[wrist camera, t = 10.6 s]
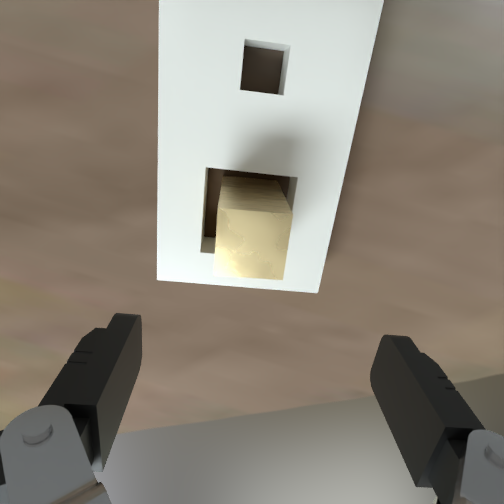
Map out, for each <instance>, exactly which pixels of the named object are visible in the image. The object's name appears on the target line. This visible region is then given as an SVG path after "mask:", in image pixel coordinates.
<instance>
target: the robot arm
mask: <svg viewBox="0 0 504 504" xmlns="http://www.w3.org/2000/svg"><path fill="white" fill-rule="evenodd" d="M141 359H142V322H141V316H140V315H135V314H123V313H116V314H115V315H114V316H113V318H112V320H111V321H110V323H109V325H108V327H107V328H106V329H105V328H95V329H94V330H92V331H91V332H90V333H88V334H87V335H86V336H84V337H83V338H82V339H81V340H80V342H79V344H78V345H77V347H76V348H75V350H74V353H72V354H71V356H70V357H69V359H68V361H67V364H65V365H64V367H63V368H62V370H61V371H60V373H59V374H58V376H57V378H56V379H55V381H54V382H53V384H52V385H51V387H50V388H49V390H48V391H47V393H46V395H45V396H44V398H43V399H42V401H41V402H40V404H39V405H38V407H35V408H32V409H30V410H27V411H25V412H24V413H22V414H20V415H19V416H17V417H16V418H15V419H13V420H12V421H11V422H10V423H9V424H8V425H7V427H6V428H5V429H4V430H2V431H0V504H111V501H110V499H109V497H108V494H107V491H106V490H105V487H104V485H103V484H102V483H101V482H99V483H98V482H97V480H96V478H95V475H94V473H93V471H98V472H103V469H104V467H105V464H106V461H107V458H108V455H109V453H110V450H111V447H112V444H113V442H114V439H115V437H116V434H117V431H118V428H119V426H120V423H121V420H122V417H123V415H124V412H125V409H126V406H127V404H128V401H129V398H130V395H131V393H132V390H133V387H134V384H135V382H136V379H137V376H138V373H139V370H140V366H141ZM447 378H448V377H447V376H446V374H445V373H444V372H443V370H442V369H441V368H440V366H439V365H438V364H437V363H436V362H435V361H433V360H432V359H431V358H430V357H428V356H427V355H426V354H425V353H420V351H419V350H418V348H417V347H416V345H415V344H414V343H413V341H412V340H411V338H409V337H408V336H397V335H384V336H383V337H382V339H381V341H380V344H379V347H378V350H377V353H376V356H375V359H374V362H373V365H372V368H371V373H370V381H371V387H372V389H373V392H374V394H375V396H376V399H377V401H378V403H379V405H380V407H381V410H382V412H383V414H384V416H385V419H386V421H387V423H388V425H389V428H390V430H391V432H392V434H393V436H394V439H395V441H396V443H397V446H398V448H399V450H400V452H401V454H402V457H403V459H404V461H405V463H406V466H407V468H408V470H409V472H410V474H411V477H412V479H413V481H414V484H415V486H416V487H430V488H433V489H434V491H435V493H436V497H435V499H434V501H433V504H504V437H503V436H501V435H499V434H497V433H494V432H491V431H488V430H486V429H485V428H484V427H483V425H482V424H481V422H480V421H479V420H478V418H477V417H476V416H475V414H474V413H473V411H472V410H471V409H470V407H469V406H468V405H467V403H466V402H465V400H464V399H463V398H462V397H461V395H460V394H459V392H458V391H456V390H455V387H454V385H453V384H452V383H451V381H450V380H448V379H447Z"/></svg>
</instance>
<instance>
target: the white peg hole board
mask: <svg viewBox="0 0 504 504" xmlns="http://www.w3.org/2000/svg"><path fill="white" fill-rule="evenodd" d="M383 2H384V0H159V80H158V214H157V280H164V281H176V282H189V283H201V284H213V285H225V286H237V287H250V288H262V289H274V290H286V291H298V292H311V293H318V290H319V285H320V281H321V276H322V272H323V268H324V263H325V259H326V254H327V250H328V245H329V241H330V237H331V232H332V228H333V223H334V219H335V214H336V210H337V206H338V201H339V197H340V192H341V188H342V184H343V179H344V175H345V170H346V166H347V161H348V157H349V153H350V148H351V144H352V139H353V135H354V130H355V126H356V122H357V117H358V113H359V108H360V104H361V99H362V95H363V91H364V86H365V82H366V77H367V73H368V68H369V64H370V60H371V55H372V51H373V46H374V42H375V37H376V33H377V29H378V24H379V20H380V15H381V11H382V7H383ZM244 46H251V47H258V48H265V49H272V50H279V51H284V55H283V62H282V70H281V77H280V85H279V92H278V95H276V94H268V93H260V92H253V91H245V90H240V83H241V73H242V62H243V52H244ZM208 168H218V169H227V170H236V171H245V172H254V173H263V174H272V175H281V176H290V181H289V187H288V193H287V199H286V200H287V202H288V205H289V207H290V209H291V211H292V213H293V219H292V225H291V231H290V238H289V244H288V251H287V257H286V263H285V270H284V276H283V280H271V279H257V278H243V277H228V276H214V259H215V243H216V238H212V237H204V228H205V213H206V198H207V183H208Z"/></svg>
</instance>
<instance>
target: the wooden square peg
mask: <svg viewBox="0 0 504 504" xmlns="http://www.w3.org/2000/svg"><path fill="white" fill-rule="evenodd" d="M292 219H293V213H292V211H291V209H290V207H289V205H288V202H287V200H286V198H285V196H284V194H283V192H282V190H281V188H280V186H279V183H278V181H276V180H266V179H255V178H244V177H233V176H223V179H222V185H221V191H220V197H219V203H218V212H217V227H216V243H215V259H214V276H228V277H243V278H257V279H271V280H283V276H284V270H285V263H286V257H287V251H288V244H289V238H290V231H291V225H292Z"/></svg>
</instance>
